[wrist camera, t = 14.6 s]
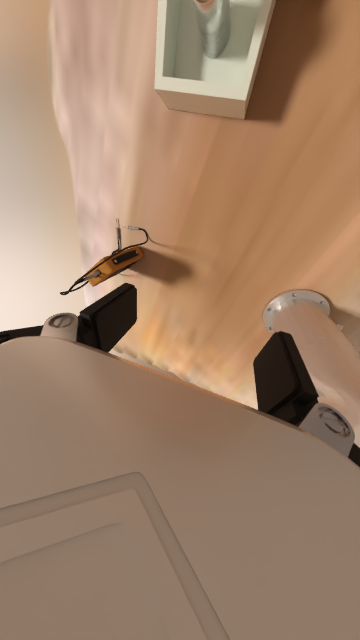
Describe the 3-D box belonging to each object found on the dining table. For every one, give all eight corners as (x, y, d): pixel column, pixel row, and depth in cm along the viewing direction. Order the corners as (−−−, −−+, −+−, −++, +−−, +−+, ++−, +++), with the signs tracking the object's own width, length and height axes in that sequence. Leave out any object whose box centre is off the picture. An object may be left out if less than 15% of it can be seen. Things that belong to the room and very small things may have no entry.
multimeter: (129, 203, 33) (34, 197, 18) (156, 247, 37) (96, 274, 21) (94, 241, 41) (5, 261, 25) (119, 275, 44) (54, 310, 29)
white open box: (295, -70, 15) (315, -166, 11) (244, 119, 23) (245, 100, 19) (181, -68, 17) (164, -152, 13) (167, 108, 24) (154, 88, 20)
